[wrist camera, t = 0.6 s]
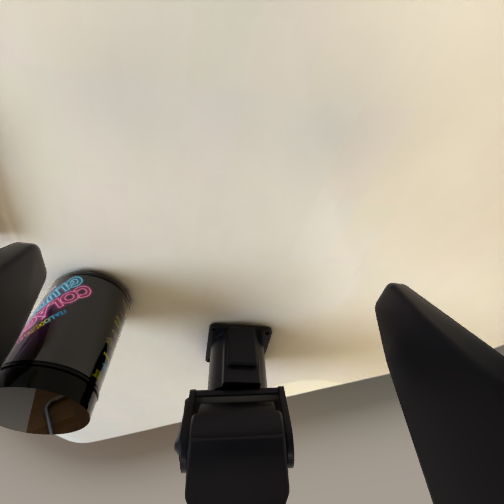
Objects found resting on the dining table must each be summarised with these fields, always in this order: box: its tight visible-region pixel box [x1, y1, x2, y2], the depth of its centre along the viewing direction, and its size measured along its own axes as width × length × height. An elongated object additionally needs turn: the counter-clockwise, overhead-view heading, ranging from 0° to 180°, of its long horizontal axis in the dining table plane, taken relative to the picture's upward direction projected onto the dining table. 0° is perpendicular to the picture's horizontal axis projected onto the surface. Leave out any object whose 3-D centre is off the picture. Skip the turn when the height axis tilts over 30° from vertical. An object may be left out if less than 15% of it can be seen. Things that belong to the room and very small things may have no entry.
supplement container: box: [0, 271, 130, 434], centre depth 23 cm, size 7×7×10 cm
